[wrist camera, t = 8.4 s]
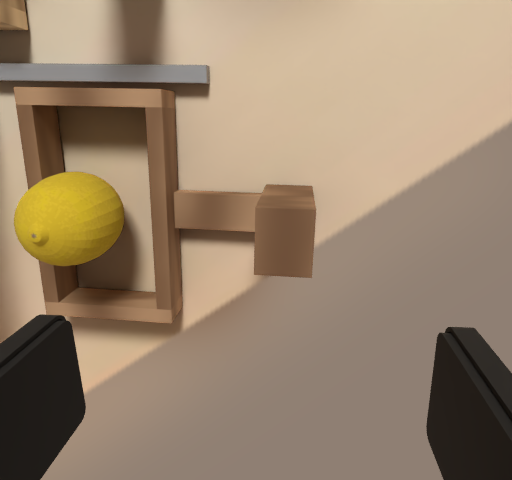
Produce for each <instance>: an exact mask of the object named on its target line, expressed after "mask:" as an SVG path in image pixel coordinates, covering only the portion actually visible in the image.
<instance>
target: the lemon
mask: <svg viewBox="0 0 512 480" xmlns="http://www.w3.org/2000/svg"><path fill="white" fill-rule="evenodd" d="M123 225H124V208H123V204H122V201H121V199H120V197H119V195H118V194H117V192H116V191H115V190H114V188H113V187H112V186H111V185H109V184H108V183H107V182H106V181H104V180H103V179H101V178H99V177H97V176H95V175H91V174H87V173H83V172H64V173H59V174H56V175H53V176H50V177H47V178H45V179H43V180H41V181H40V182H39V183H37V184H36V185H34V186H33V187H31V188H30V189H29V190H28V191H27V192H26V193H25V195H24V196H23V197H22V198H21V200H20V201H19V203H18V206H17V208H16V211H15V217H14V226H15V232H16V234H17V237H18V239H19V241H20V243H21V244H22V246H23V247H24V249H25V250H26V251H27V252H28V253H30V254H31V255H32V256H33V257H35V258H36V259H38V260H40V261H42V262H45V263H48V264H51V265H58V266H70V265H78V264H83V263H86V262H88V261H90V260H93V259H95V258H97V257H99V256H101V255H102V254H103V253H105V252H106V251H107V250H108V249H109V248H111V247H112V246H113V244H114V243H115V242H116V240H117V239H118V237H119V236H120V234H121V231H122V228H123Z"/></svg>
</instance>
